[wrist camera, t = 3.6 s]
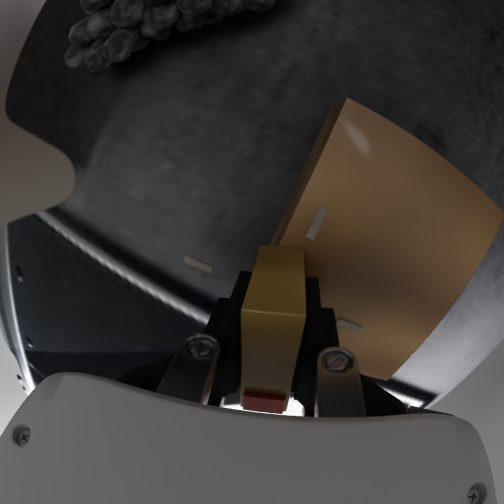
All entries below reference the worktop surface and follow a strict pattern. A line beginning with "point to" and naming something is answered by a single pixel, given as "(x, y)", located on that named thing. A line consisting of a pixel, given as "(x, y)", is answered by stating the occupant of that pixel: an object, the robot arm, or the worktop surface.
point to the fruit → (141, 26)
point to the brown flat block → (383, 234)
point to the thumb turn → (272, 328)
